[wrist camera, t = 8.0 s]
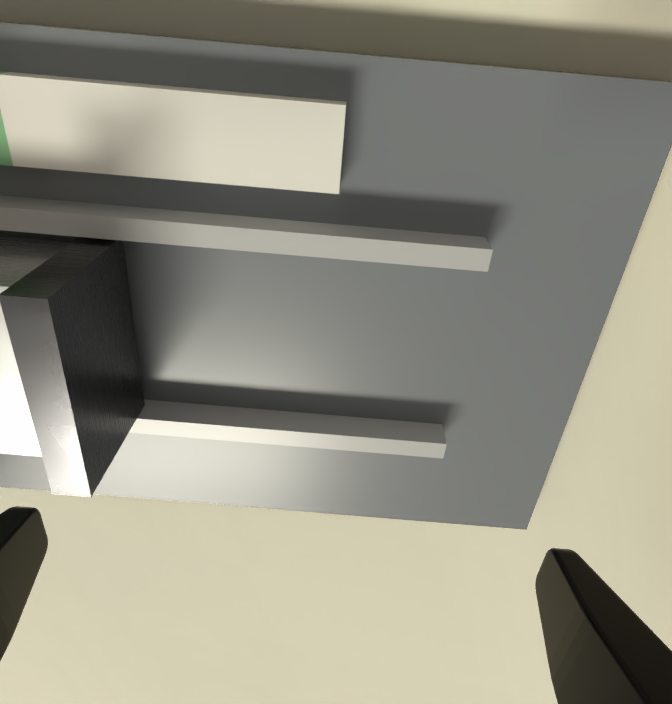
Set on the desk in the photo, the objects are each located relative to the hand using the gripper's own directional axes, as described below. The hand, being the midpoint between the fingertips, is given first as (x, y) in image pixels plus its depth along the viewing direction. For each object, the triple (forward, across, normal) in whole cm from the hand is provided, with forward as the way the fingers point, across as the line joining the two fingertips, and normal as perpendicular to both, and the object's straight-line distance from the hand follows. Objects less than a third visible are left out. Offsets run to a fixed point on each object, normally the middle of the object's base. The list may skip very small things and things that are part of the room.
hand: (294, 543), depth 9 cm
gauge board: (+9, +4, 0) cm, 9 cm away
